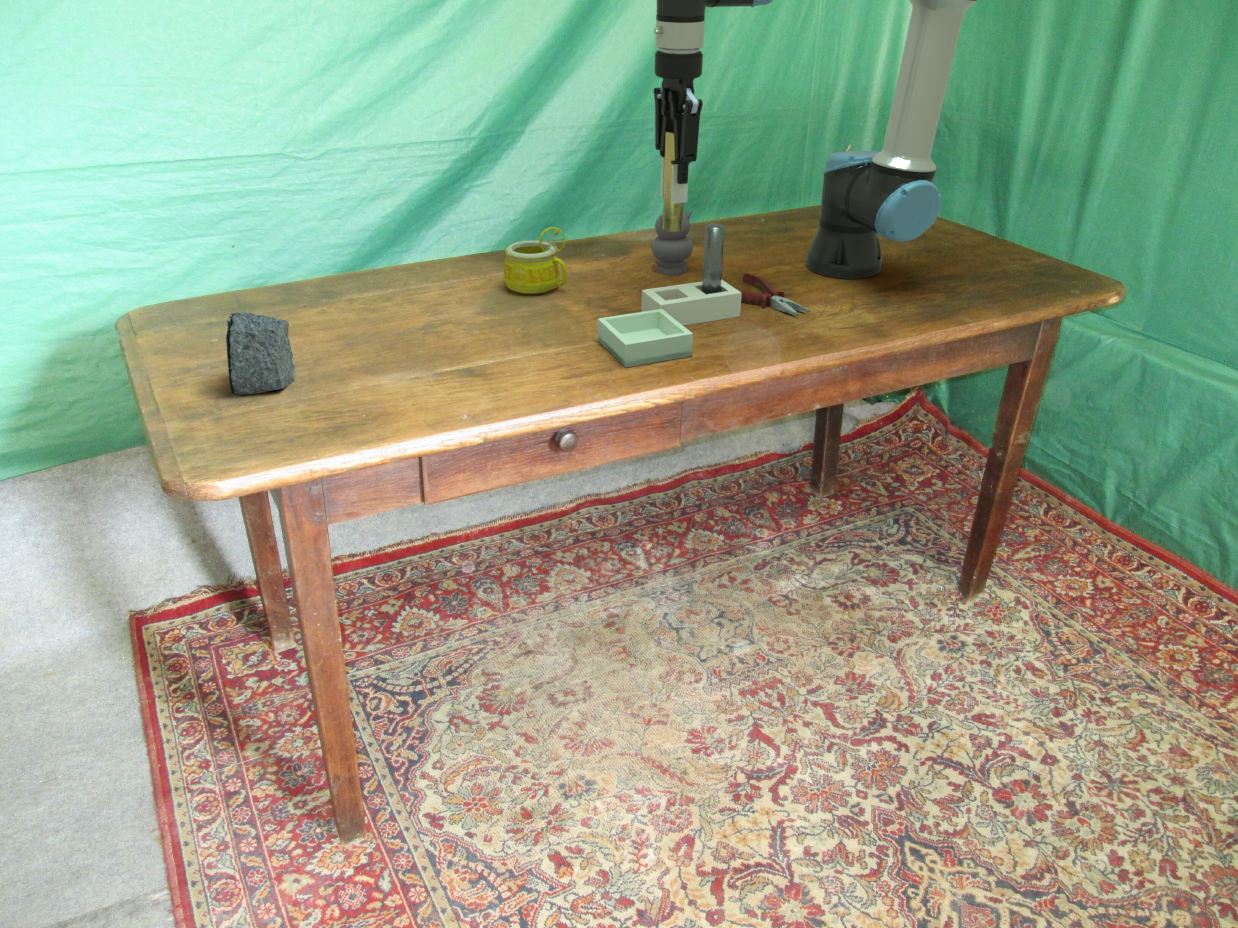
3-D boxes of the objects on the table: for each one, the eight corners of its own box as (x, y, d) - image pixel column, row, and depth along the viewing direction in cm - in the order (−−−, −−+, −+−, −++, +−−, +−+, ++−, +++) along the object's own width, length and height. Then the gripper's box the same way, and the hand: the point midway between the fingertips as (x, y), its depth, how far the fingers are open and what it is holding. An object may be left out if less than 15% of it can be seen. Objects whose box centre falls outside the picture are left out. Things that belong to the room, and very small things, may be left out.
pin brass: (677, 225, 171) (680, 129, 163) (685, 230, 168) (689, 133, 160) (659, 227, 170) (662, 131, 162) (667, 232, 167) (671, 135, 159)
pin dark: (714, 307, 182) (719, 222, 174) (722, 314, 180) (728, 227, 172) (697, 310, 181) (701, 224, 173) (706, 316, 178) (710, 229, 170)
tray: (661, 330, 173) (661, 308, 171) (691, 356, 163) (693, 333, 161) (597, 340, 169) (597, 318, 167) (625, 367, 159) (625, 344, 157)
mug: (494, 293, 188) (490, 231, 182) (520, 275, 197) (517, 216, 191) (554, 302, 184) (552, 239, 178) (578, 284, 193) (577, 223, 187)
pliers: (782, 327, 176) (783, 313, 174) (704, 295, 189) (705, 282, 188) (824, 312, 182) (826, 299, 181) (747, 283, 195) (748, 270, 194)
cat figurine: (678, 261, 205) (680, 203, 199) (699, 272, 199) (702, 213, 193) (643, 267, 201) (644, 209, 195) (664, 279, 195) (666, 219, 189)
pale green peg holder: (719, 301, 185) (720, 278, 183) (739, 316, 179) (741, 293, 176) (641, 313, 179) (641, 290, 177) (659, 329, 173) (660, 305, 171)
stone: (221, 405, 151) (236, 361, 157) (288, 413, 152) (300, 370, 159) (214, 347, 142) (231, 303, 149) (285, 357, 144) (299, 313, 150)
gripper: (636, 44, 160) (634, 189, 172) (680, 58, 147) (674, 214, 159) (678, 42, 162) (673, 185, 174) (724, 56, 149) (716, 209, 161)
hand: (673, 199), depth 166 cm, fingers closed on pin brass, 3 cm apart
